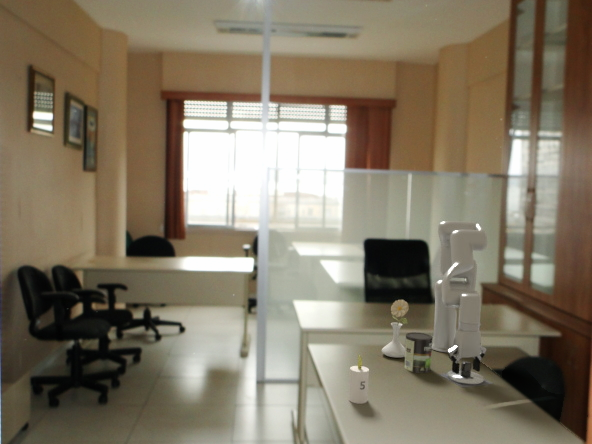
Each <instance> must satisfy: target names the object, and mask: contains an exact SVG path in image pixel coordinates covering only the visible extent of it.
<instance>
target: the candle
mask: <svg viewBox="0 0 592 444" xmlns="http://www.w3.org/2000/svg"><path fill="white" fill-rule="evenodd" d="M357 360H358V362H357V365H353V366H350V368H349V382H348V383H349V385H348V401H349V402H351V403H353V404H366V403H368V398H369V397H368V396H369V395H368V394H369V380H370V379H369V378H370V369H369V367H366V366H363V364H362V363H363V361H362V358H361V355H360V354H359V355H358V359H357Z"/></svg>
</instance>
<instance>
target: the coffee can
mask: <svg viewBox="0 0 592 444" xmlns="http://www.w3.org/2000/svg"><path fill="white" fill-rule="evenodd" d="M432 343H433V336H432V335H430V334H428V333H424V332H413V331H412V332H407V333H406V334H405V346H404V347H405V357H404V363H403V364H404V366H403V367H404V369H405V370H407V371H408V372H412V373H417V374H427V373H429V372H431V367H432V366H431V365H432V363H431V362H432V351H433V349H432Z"/></svg>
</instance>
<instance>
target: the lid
mask: <svg viewBox="0 0 592 444" xmlns="http://www.w3.org/2000/svg"><path fill="white" fill-rule="evenodd" d="M447 373H448V374H447V377H448V379H450V380H451V381H453V382H456V383H459V384H464V385H481V384H483V382H484V379H485V377H484V376H483V375H482V374H479V373H477V372H474V371H472V362H471V361H467V360H463V361H461V366H460V369H459V374H456V373H454V372H452V369H451V370H449V371H448V372H447ZM448 379H447V380H448ZM451 381H450V382H451ZM453 382H452V383H453ZM481 386H482V385H481Z"/></svg>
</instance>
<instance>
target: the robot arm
mask: <svg viewBox="0 0 592 444" xmlns="http://www.w3.org/2000/svg"><path fill="white" fill-rule="evenodd" d="M437 228H438V229H437V233H438V234H437V235H438V237H439V242H440V247H441V248H440V257H439V258H440V259H439V274H440V275H441V276H442V279H438V280H437V281H436V282H435V283H434V290H433V291H434V292H433V293H434V301H435V302H434V321H433V323H434V324H433V334H432V335H433V336H432V337H433V339H432V351H433V350H434V351H436V352H440V353H447V355H448V357H449V360H450V361H451V362H452V364H451V370H452V372H454V373H456V374H459V370H460V363H459V362H460V361H461V359H467V358H473V360H472V370H474V371H476V372H480V371H481V362H482V361H483V358H484V357H485V354H486V352H487V348H486V347H484V346H483V345H482V336H481V334H482V333H481V331H480V327H481V326H482V323H481V311H482V310H481V308H482V297H481V296H482V295H481V294H480V293H479V292H478V290H476V283H477V275H478V274H477V272H478V265H477V261H476V260H475V258H474V251H475V252H476V251H477V252H478V251H479V252H482V251H485V250H486V249H487V246H488V237H487V233H486V230H485V229H484V228H483V227H482V225H481V224H480V223H479V222H478V221H477V222H476V221H463V220H462V221H461V220H443V221H440V222H439V224H438V225H437ZM452 278H453V279H452ZM463 279H464V280H463ZM457 309H459V310H458V312H457ZM457 314H458V325H457ZM457 326H458V327H457Z"/></svg>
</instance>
